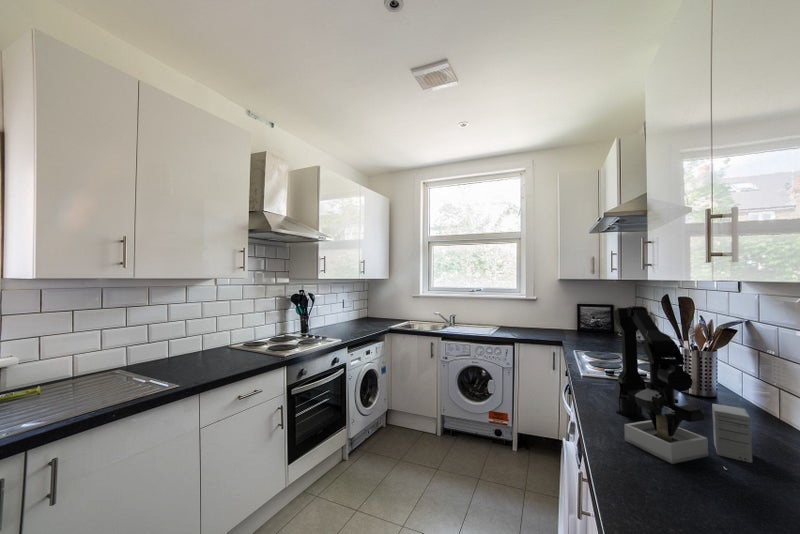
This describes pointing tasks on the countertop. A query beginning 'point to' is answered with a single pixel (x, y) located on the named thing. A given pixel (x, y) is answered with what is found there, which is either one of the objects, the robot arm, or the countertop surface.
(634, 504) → the countertop surface
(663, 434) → the wooden peg
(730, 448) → the supplement box
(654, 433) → the grey box
